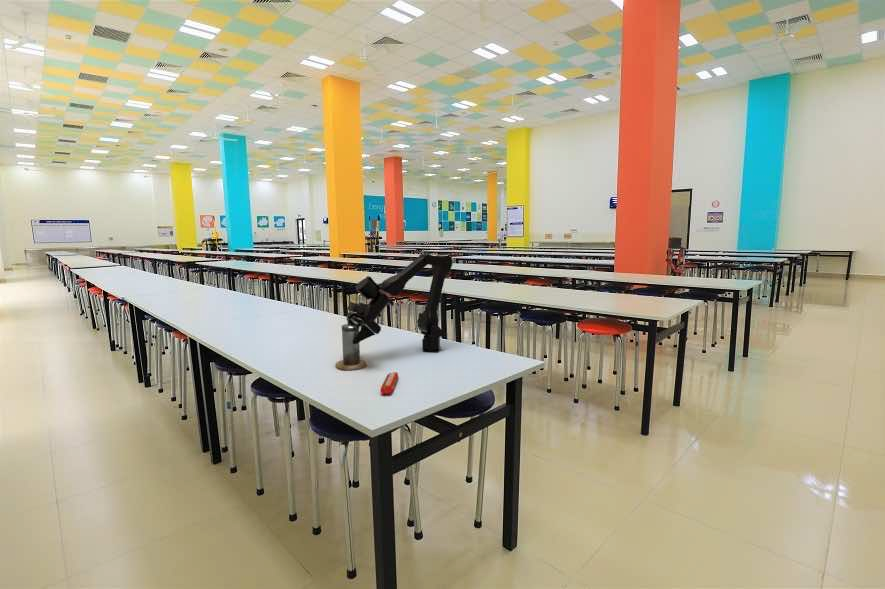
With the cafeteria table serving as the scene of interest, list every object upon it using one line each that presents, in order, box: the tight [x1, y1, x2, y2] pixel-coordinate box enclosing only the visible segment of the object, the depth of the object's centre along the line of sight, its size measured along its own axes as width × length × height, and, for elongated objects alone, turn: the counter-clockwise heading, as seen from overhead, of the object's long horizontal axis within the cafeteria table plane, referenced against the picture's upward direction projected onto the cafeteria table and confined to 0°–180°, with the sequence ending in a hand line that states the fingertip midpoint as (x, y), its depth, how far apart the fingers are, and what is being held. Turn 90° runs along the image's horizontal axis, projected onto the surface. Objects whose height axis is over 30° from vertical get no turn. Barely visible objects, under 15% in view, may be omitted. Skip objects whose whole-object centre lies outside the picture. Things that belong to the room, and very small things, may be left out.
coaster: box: [335, 358, 368, 372], centre depth 155 cm, size 11×11×1 cm
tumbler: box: [341, 323, 361, 366], centre depth 154 cm, size 6×6×14 cm
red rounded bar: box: [380, 371, 399, 396], centre depth 134 cm, size 16×4×3 cm, turn 178°
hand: (348, 340), depth 153 cm, fingers open, 9 cm apart
